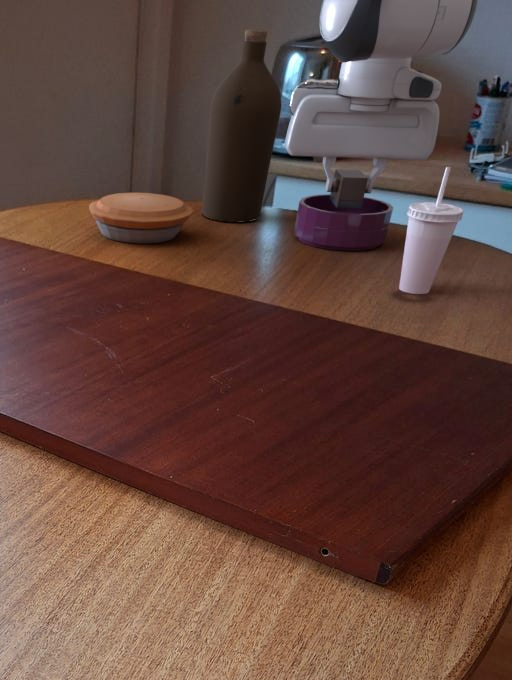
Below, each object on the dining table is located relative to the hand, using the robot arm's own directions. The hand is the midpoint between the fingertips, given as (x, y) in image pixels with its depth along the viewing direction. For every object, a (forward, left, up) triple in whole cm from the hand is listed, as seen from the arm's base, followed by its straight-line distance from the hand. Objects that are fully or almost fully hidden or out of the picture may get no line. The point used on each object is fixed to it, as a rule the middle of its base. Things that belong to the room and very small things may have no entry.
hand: (347, 192), depth 128 cm
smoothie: (-6, +24, -7) cm, 25 cm away
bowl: (0, 0, -7) cm, 7 cm away
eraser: (0, 0, -2) cm, 2 cm away
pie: (+30, +1, -7) cm, 31 cm away
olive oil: (+15, -13, -7) cm, 21 cm away
